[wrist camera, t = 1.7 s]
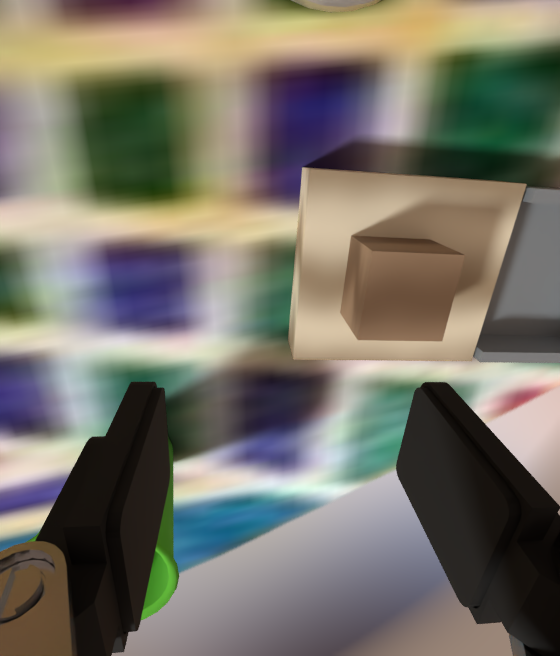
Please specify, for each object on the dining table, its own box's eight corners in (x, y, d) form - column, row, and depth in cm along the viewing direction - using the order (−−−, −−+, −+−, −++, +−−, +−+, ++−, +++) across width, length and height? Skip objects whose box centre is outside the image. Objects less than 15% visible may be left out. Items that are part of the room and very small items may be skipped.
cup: (214, 422, 31) (202, 549, 21) (173, 497, 34) (146, 639, 24) (103, 385, 29) (30, 508, 19) (69, 469, 32) (-8, 614, 22)
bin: (498, 184, 25) (536, 188, 22) (622, 192, 26) (675, 198, 23) (454, 340, 30) (480, 362, 27) (560, 341, 31) (597, 363, 28)
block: (351, 235, 23) (372, 250, 19) (430, 239, 23) (465, 255, 20) (340, 312, 25) (357, 340, 21) (413, 314, 25) (442, 341, 22)
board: (302, 167, 24) (310, 168, 21) (495, 180, 25) (526, 183, 22) (288, 339, 29) (293, 359, 26) (450, 342, 30) (471, 361, 27)
